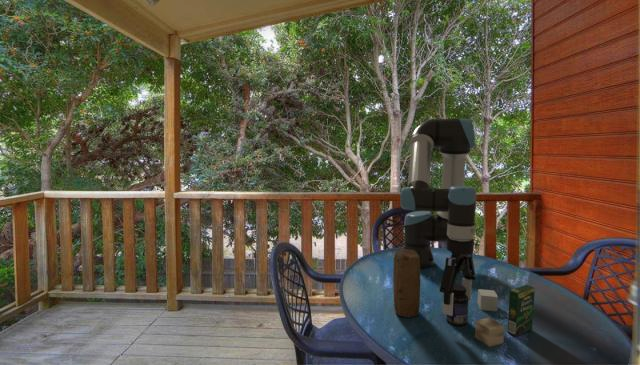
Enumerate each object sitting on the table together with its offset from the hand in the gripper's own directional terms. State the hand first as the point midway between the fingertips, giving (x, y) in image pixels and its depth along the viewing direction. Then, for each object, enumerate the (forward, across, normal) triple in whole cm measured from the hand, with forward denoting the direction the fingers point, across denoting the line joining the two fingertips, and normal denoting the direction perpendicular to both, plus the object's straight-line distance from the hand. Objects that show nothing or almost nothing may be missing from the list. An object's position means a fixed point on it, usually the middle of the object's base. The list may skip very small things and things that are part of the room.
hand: (457, 306), depth 104 cm
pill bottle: (+5, 0, 0) cm, 5 cm away
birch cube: (+5, -3, -10) cm, 12 cm away
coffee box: (+5, +7, -15) cm, 18 cm away
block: (+5, -5, +15) cm, 17 cm away
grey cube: (+5, +17, -3) cm, 18 cm away
